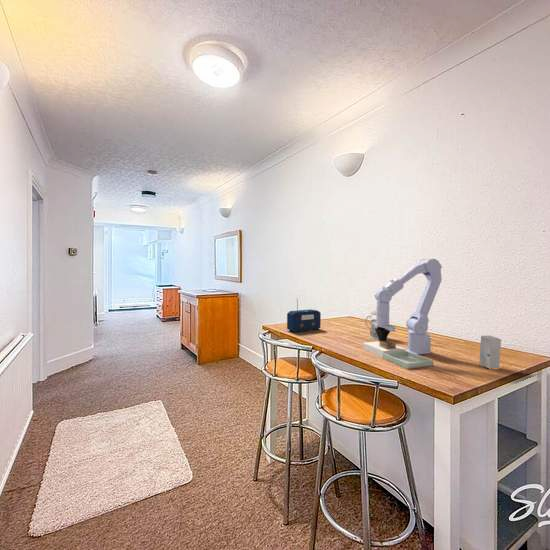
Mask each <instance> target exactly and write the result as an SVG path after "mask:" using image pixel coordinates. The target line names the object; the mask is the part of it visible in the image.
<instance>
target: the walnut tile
mask: <svg viewBox="0 0 550 550" xmlns="http://www.w3.org/2000/svg"><path fill="white" fill-rule="evenodd" d="M379 346H380V347H382V348H385V349H394V348H396V346H397V343H396V342H394V341H391V340H388V339H386V341H380V343H379Z"/></svg>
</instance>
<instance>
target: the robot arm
mask: <svg viewBox="0 0 550 550" xmlns="http://www.w3.org/2000/svg"><path fill="white" fill-rule="evenodd" d="M441 270H442V265H441V263H440V261H439V260H438V259H436V258H427V259H426V258H425V259H424V258H422V259H420V260H419V261H418V262H415V263H414V264H413V266H411V267H410V268H409V269H408V270H407V271H406V272H404V273H403V275H401V276H400V277H398V278H392V279H390V280H389V282H388V283H387V284H386V285H384V286H382V287H381V288H382V289H379V290H377V291H376V292H375V294H374V298H375V300H376V311H377V312H376V315H375V316H376V318H375V320H376V322H372V321H371V322H372V326H375V327H377V328H376V329H375V332H376V333H377V335H378V338H379V340H378V341H379V342H380V341H386V340H388V336H389V334H390V332H391V333H393V332H396V327H394V326H392V325H391V324H390V301H392V298H393V297H394V296H395V295H396V294H398V293H399V292H400V291H401V290H403V289H404V285H405V284H406V283H407V282H409V281H410V280H411V279H413V278H414V277H416V276H417V275H419V274H422V275H423V276H424V277H425V279H426V280H427V281H426V284H425V286H424V289H423V292H422V294H421V296H420V298H419V301H418V303H417V307H416V309H415V311H414V312H413V313H411V315H410V317H409V318H407V320H406V322H405V323H406V327H407V329H408V331H407V332H408V333H407V335H408V336H407V348H404V349H405V351H409V352H412V353H414V354H417V355H425V354H432V353H433V352H432V351H431V349H432V348H431V345H432V344H431V341H432V339H431V336H430V334H429V333H427V331H428V329H429V321H430V320H429V317H428V315H429V313H430V310H431V307H432V305H433V302H434V301H435V298H436V295H437V293H438V291H439V287H440V285H441V283H442V279H443V278H442V271H441Z"/></svg>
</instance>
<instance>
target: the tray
mask: <svg viewBox="0 0 550 550" xmlns="http://www.w3.org/2000/svg"><path fill="white" fill-rule="evenodd" d="M381 358H382V359H383V358H384V359H383V360H385V359H386V361H388V362H390V363H392V364H394V363H395V365H397V366H399V367H402V368H403V367H404V369H405V370H411V369H420V368H427V367H433V366H434V360H433V359H430V358H428V357H425V356H422V355H421V354H414V353H412V352H409V351H399V352H389V353H383V356H382V357H381Z"/></svg>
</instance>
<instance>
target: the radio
mask: <svg viewBox="0 0 550 550" xmlns="http://www.w3.org/2000/svg"><path fill="white" fill-rule="evenodd" d="M298 300H299V299H298V298H296V310H290V311H288V312H287V314H286V329H287V330H289V331H290V330H291V332H293V331H294V333H300V332H299V331H304V332H310V331H309V330H312V331H318V330H320V328H321V323H322V322H321V320H322V318H321V314H322V313H321V312H320V311H319V310H316V309H301V310H299V308H298V305H299V304H298V302H299V301H298ZM317 329H318V330H317Z"/></svg>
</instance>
